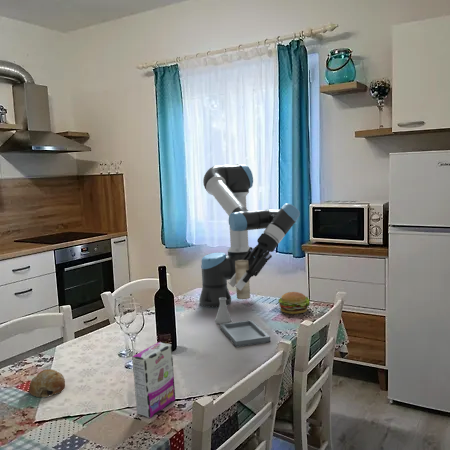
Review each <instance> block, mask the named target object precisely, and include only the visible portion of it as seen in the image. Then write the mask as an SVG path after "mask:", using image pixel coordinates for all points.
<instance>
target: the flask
mask: <svg viewBox="0 0 450 450" xmlns="http://www.w3.org/2000/svg"><path fill="white" fill-rule="evenodd" d="M219 301H220V305H219V307H218V310H217V314H216V317H215V320H214V322H215V324H218V325H221V324H225V323H233V320H232V318H231V315H230V312H229V309H228V307H227V306H228V305H227V306H226V298H219Z"/></svg>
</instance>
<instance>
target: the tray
mask: <svg viewBox="0 0 450 450" xmlns="http://www.w3.org/2000/svg"><path fill="white" fill-rule="evenodd" d="M220 330H221V331H222V332H223V333H224V334H225V336H226V337H227V338H228V339H229V340H230V341H231V342H232V344H233V345H234V346H235V347H236V348H240V347H246V346H251V345H252V346H253V345H258V344H264V343H265V344H266V343H271V336H270V335H269V334H268V333H267V332H266V331H264V329H262V328H261V327H260V326H259V325H258V324H256V323H255V322H254V321H253V320H252V319H250V320H241V321H232V322H230V323H225V324H220Z"/></svg>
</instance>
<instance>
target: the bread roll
mask: <svg viewBox="0 0 450 450" xmlns="http://www.w3.org/2000/svg"><path fill="white" fill-rule="evenodd" d="M65 386H66V379H65V376H64V375H63V374H62V373H61V372H59V371H57V370H55V369H51V368H50V369H49V368H48V369H43V370H41V371H40V372H38V373H37V375H35V376H34V377H33V378H31V380H30V383H29V386H28V387H29V388H28V390H29V393H30V394H31V396H34V397H35V396H36V398H42V397H45V398H48V397H47V396H49V395H52V396H54V395H53V394H55V393H58V394H60V393H62V392H63V391H64V390H65V388H66V387H65ZM63 389H64V390H63ZM62 390H63V391H62ZM61 391H62V392H61ZM59 392H60V393H59ZM55 395H56V394H55ZM49 397H50V396H49Z"/></svg>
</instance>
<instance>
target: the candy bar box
mask: <svg viewBox="0 0 450 450" xmlns="http://www.w3.org/2000/svg"><path fill="white" fill-rule="evenodd" d="M131 360H132V368H133V369H132V371H133V381H134V392H135V403H136V404H135V406H136V407H135V408H136V414H137V415H139V416H140V417H141V416H142V417H145V418H148V419H151V418H153V417H154V416H156V414H158V413H160V412H161V411H162V410H163V409H165V408H166V407H168V406H169V405H171V403H173V402H174V401H176V393H175V392H176V390H175V388H176V387H175V376H174V361H173V347H172V344H170V343H167V342H162V341H158V342H157V343H154V344H152V345H150V346H149V347H147V348H145V349H143V350H141V351H140V352H137V353H136V354H134V355H132V359H131Z"/></svg>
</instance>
